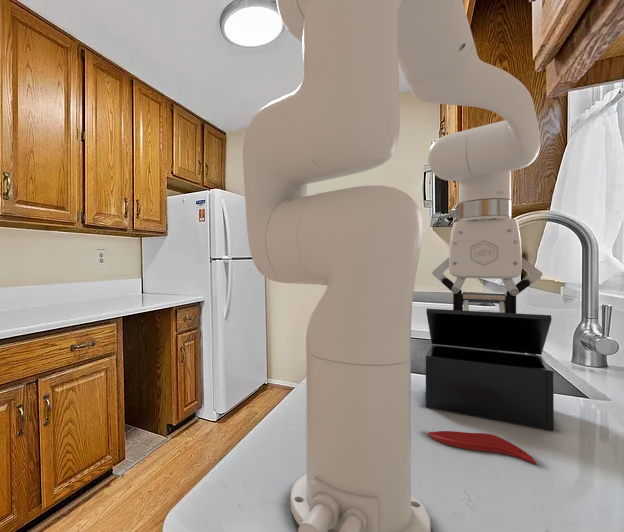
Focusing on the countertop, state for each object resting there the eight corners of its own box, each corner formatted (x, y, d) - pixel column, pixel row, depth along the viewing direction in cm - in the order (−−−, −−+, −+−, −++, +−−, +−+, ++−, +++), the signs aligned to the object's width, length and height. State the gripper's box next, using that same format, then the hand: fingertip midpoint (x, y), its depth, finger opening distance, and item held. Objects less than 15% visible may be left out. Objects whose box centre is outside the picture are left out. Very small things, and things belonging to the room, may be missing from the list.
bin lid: (551, 319, 56) (547, 288, 58) (426, 312, 65) (428, 285, 68) (541, 355, 64) (538, 326, 67) (431, 344, 73) (433, 319, 76)
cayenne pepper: (539, 457, 47) (539, 442, 47) (533, 471, 44) (533, 455, 44) (435, 427, 55) (435, 414, 55) (423, 437, 52) (423, 423, 52)
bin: (553, 430, 54) (553, 370, 54) (425, 407, 64) (425, 356, 64) (541, 406, 64) (541, 355, 64) (431, 389, 73) (431, 344, 73)
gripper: (425, 214, 66) (424, 315, 66) (553, 205, 56) (553, 324, 56) (429, 219, 72) (428, 312, 72) (545, 213, 63) (545, 319, 62)
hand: (483, 316), depth 64 cm, fingers closed on bin lid, 6 cm apart
